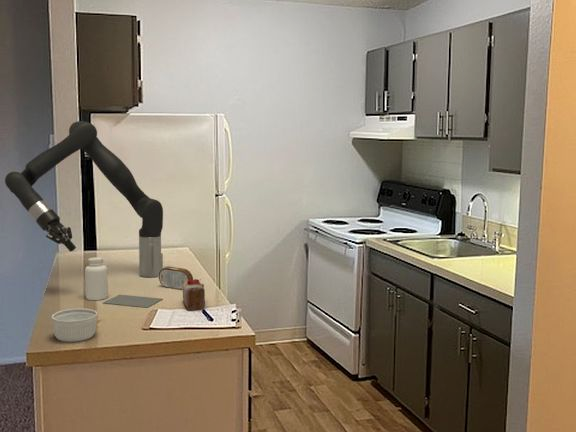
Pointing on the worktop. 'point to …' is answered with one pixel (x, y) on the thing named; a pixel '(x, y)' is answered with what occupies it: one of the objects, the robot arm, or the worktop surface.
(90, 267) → the pill bottle
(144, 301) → the mat
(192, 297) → the food item
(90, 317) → the ramekin
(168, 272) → the tin
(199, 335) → the worktop surface
